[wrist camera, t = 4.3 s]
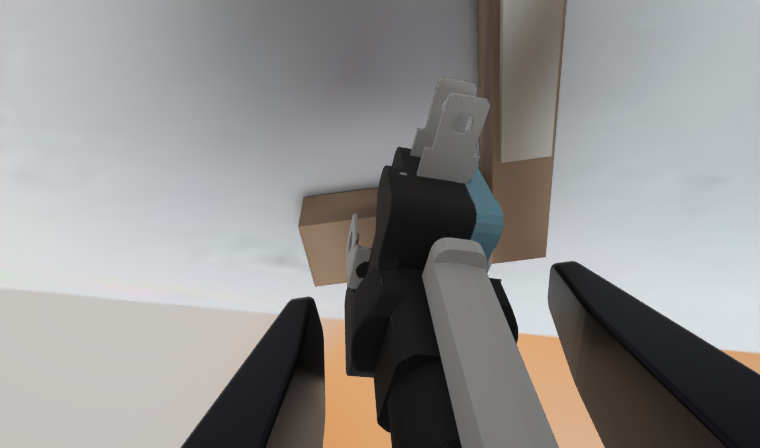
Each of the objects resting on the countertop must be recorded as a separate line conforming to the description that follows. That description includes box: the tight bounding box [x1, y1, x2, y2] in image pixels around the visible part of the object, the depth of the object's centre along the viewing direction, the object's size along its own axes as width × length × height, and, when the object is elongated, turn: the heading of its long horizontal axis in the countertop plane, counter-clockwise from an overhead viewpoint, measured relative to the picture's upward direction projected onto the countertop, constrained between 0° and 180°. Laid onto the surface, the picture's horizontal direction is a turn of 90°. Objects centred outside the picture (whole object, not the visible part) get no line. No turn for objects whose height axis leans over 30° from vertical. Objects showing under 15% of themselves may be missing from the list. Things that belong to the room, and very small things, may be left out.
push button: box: [345, 77, 559, 448], centre depth 7 cm, size 7×5×10 cm
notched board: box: [298, 0, 567, 286], centre depth 19 cm, size 11×17×3 cm, turn 7°
